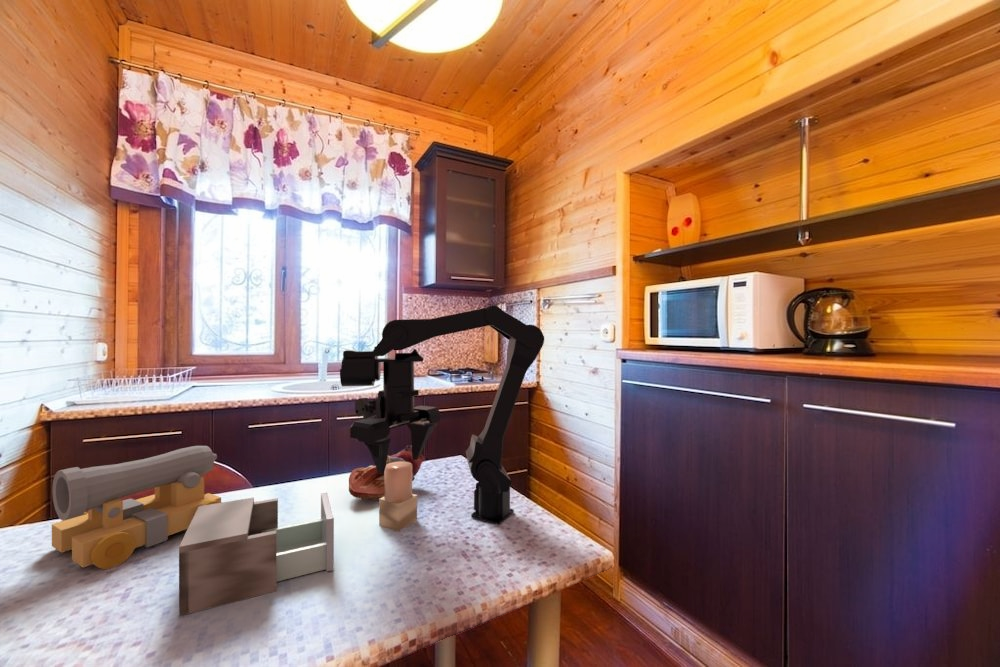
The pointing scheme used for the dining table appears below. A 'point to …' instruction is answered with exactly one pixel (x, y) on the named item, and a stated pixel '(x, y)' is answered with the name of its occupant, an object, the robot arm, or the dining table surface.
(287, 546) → the drawer
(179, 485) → the toy cannon
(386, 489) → the tan rounded cylinder
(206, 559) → the housing
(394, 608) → the dining table surface
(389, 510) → the block
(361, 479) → the anatomical model
